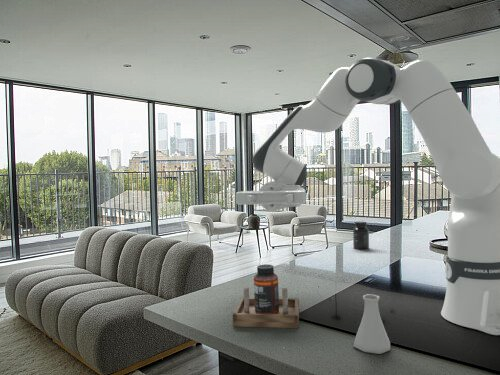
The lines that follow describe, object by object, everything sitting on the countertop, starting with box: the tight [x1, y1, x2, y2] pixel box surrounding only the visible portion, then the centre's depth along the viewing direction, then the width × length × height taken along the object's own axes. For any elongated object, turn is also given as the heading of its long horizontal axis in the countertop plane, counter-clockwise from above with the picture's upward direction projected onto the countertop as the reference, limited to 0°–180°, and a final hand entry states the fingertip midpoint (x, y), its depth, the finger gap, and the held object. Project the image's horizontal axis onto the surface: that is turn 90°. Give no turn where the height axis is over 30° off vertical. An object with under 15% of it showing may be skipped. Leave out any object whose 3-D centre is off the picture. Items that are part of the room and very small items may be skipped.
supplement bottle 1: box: [253, 263, 280, 314], centre depth 92 cm, size 6×6×11 cm
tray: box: [232, 287, 300, 329], centre depth 93 cm, size 15×12×8 cm
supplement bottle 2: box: [352, 221, 370, 251], centre depth 173 cm, size 7×7×12 cm
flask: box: [352, 293, 391, 355], centre depth 76 cm, size 7×7×10 cm
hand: (268, 199), depth 104 cm, fingers open, 8 cm apart
